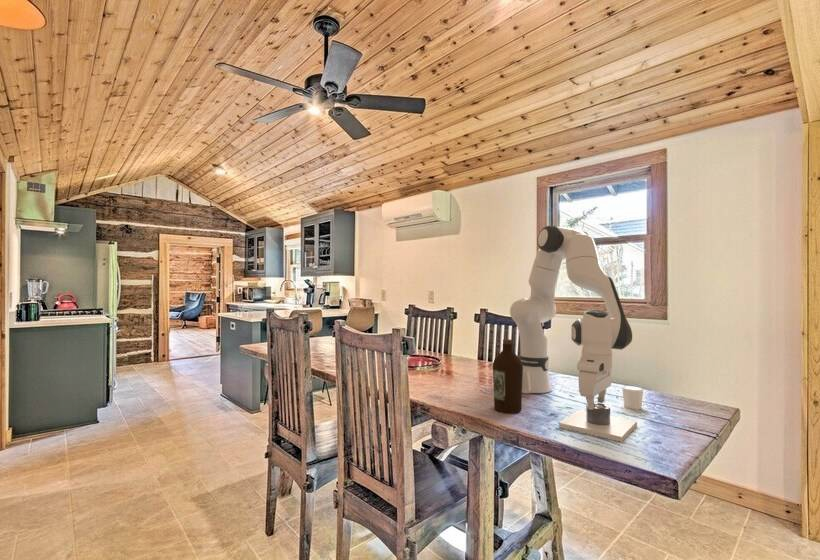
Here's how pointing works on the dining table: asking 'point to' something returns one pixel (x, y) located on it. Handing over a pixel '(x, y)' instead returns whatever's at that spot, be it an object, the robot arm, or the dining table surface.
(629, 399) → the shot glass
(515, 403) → the olive oil
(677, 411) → the dining table surface
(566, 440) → the dining table surface
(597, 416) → the steel collar
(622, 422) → the post stand
